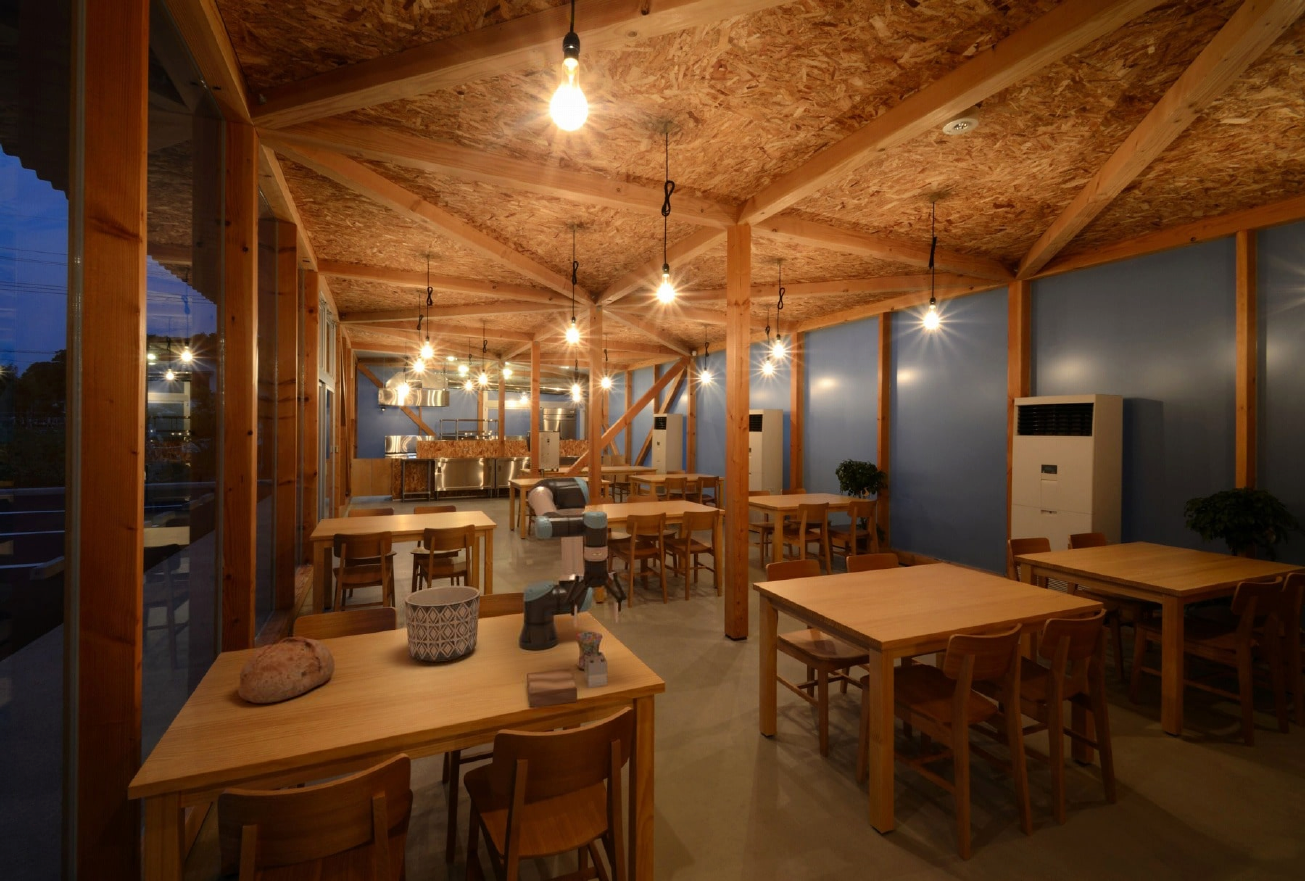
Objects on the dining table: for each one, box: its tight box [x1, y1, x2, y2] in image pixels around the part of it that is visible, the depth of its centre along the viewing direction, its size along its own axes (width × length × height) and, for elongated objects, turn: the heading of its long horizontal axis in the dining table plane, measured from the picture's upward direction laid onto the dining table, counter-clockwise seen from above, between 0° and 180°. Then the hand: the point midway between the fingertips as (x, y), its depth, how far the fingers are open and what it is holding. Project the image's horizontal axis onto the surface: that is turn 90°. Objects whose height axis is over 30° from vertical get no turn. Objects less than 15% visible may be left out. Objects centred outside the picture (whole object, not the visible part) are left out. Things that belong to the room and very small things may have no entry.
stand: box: [526, 668, 578, 709], centre depth 174 cm, size 15×14×4 cm
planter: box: [404, 585, 481, 663], centre depth 205 cm, size 26×26×22 cm
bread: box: [237, 636, 336, 704], centre depth 178 cm, size 26×23×15 cm
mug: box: [575, 631, 603, 670], centre depth 196 cm, size 12×9×11 cm
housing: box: [584, 651, 608, 689], centre depth 182 cm, size 8×6×8 cm
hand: (595, 623), depth 182 cm, fingers open, 13 cm apart
